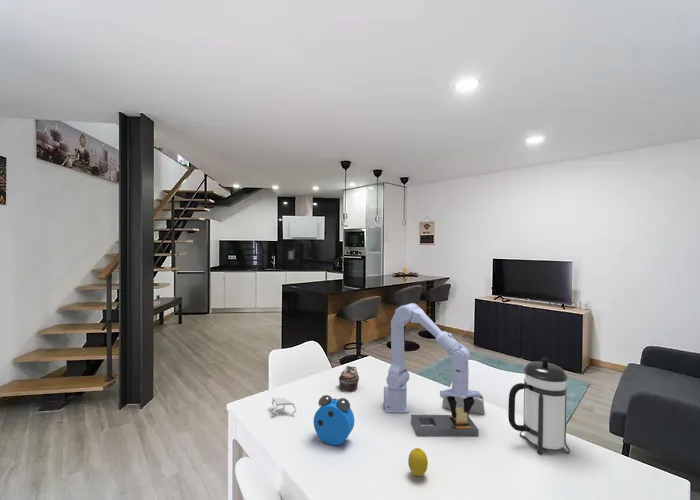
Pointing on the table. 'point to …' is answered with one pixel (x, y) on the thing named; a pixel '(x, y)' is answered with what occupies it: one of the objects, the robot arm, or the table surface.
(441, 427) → the rail plate
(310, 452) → the table surface
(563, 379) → the coffee press
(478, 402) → the grey rounded block
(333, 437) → the alarm clock
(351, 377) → the cupcake
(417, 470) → the lemon
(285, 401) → the miniature table
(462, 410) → the brass peg
